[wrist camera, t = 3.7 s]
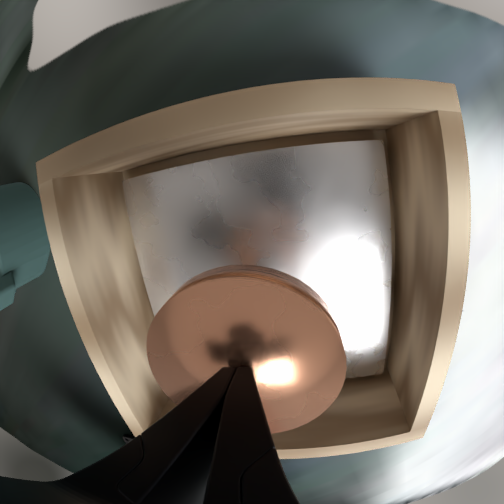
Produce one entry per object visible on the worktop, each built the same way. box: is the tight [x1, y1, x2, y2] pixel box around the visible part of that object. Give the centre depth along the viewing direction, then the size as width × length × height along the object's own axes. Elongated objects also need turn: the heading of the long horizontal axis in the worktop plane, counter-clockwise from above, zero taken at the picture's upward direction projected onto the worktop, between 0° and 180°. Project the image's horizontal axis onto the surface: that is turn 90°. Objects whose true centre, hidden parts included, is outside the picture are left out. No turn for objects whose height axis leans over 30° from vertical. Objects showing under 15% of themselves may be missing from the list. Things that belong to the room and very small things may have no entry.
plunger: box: [122, 140, 392, 434], centre depth 11 cm, size 13×13×7 cm
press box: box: [36, 78, 471, 459], centre depth 13 cm, size 16×16×6 cm
